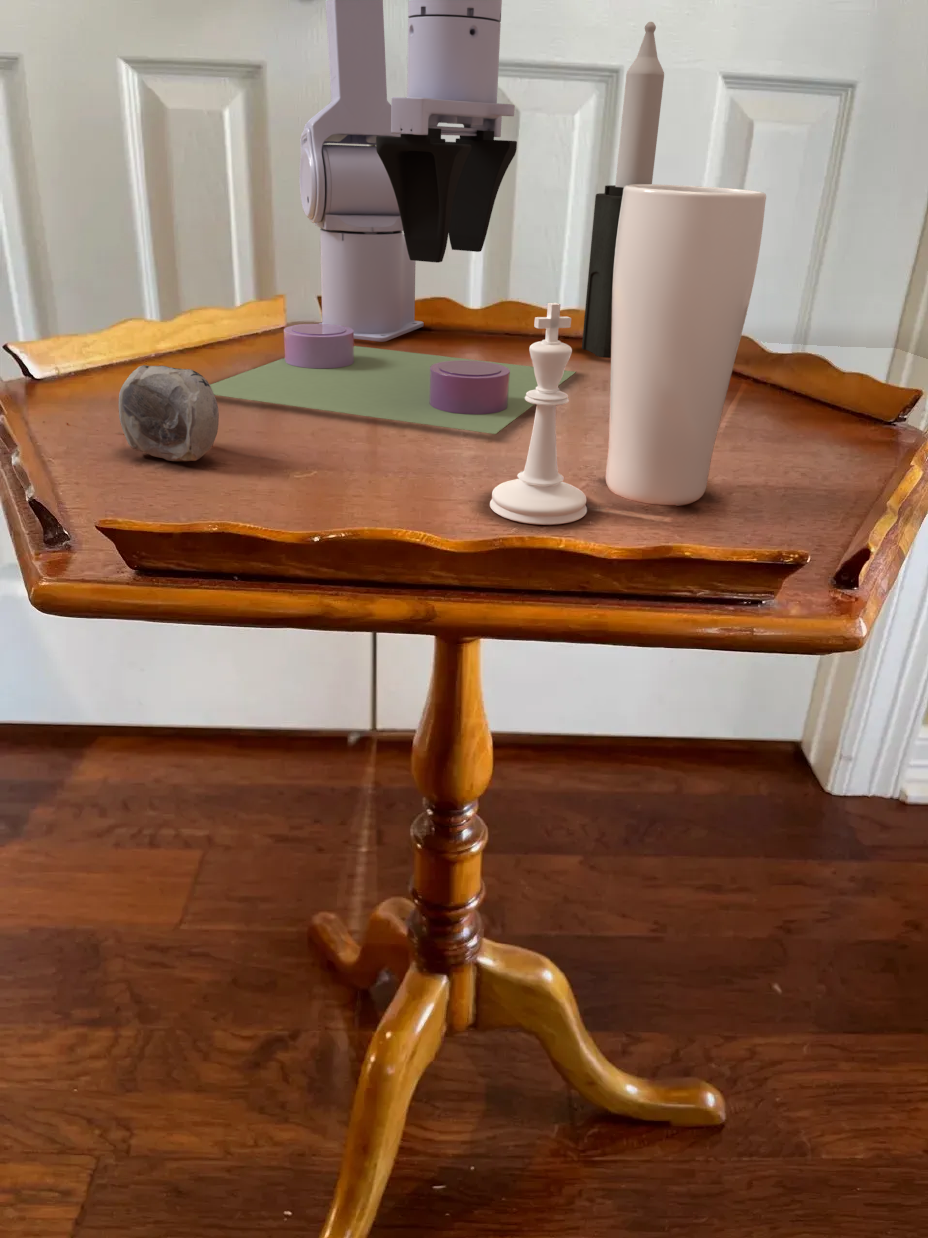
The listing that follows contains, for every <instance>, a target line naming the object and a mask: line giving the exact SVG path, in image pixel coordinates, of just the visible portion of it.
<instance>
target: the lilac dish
mask: <svg viewBox="0 0 928 1238" xmlns="http://www.w3.org/2000/svg"><path fill="white" fill-rule="evenodd" d="M354 346H355V339H354V330H353V329H351V328H348V327H345V326H340V325H331V324H319V323H303V324H301V323H300V324H293V325H289V326H286V327H284V329H283V347H284V348H283V349H284V350H283V351H284V352H283V353H284V358H285V362H286V363H287V364H290V365H293V366H297V367H303V368H315V369H328V368H340V367H345V366H349V365H351V364H353V363H354Z"/></svg>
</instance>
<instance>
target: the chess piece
mask: <svg viewBox="0 0 928 1238" xmlns="http://www.w3.org/2000/svg"><path fill="white" fill-rule="evenodd" d="M533 325H534V326H533V327H534V328H536V329H537V330H538V329H539V330H540V329H545V336H544V338H545V339H542V340H540V341H535V342H533V343H532V344H531V345H529V349H528V351H529V356H530V360H531V363H532V367H534V373H535V377H536V381H537V384H538V386H537V387H536V389H535V390H530V391H528V392H527V393H526V396H525V400H526V401H527V402H529V403H532V404H534V405H536V406H535V413H534V419H533V426H532V430H531V437H530V441H529V445H528V451H527V454H526V455H527V456H526V461H525V464H524V468H523V470H521V471H520V472H518V473H517V475H516V477H517V478H515V479H510V480H506V481H504V482H502V483H500V484H498V485H496V486H495V487H494V488H493V489H492V492H491V499H490V501H489V507H490V509H491V511H493V512H494V513H495V514H496V515H498V516H500V517H502V518H504V519H507V520H510V521H513V522H518V523H522V524H529V525H539V526H540V525H541V526H542V525H543V526H552V525H553V526H555V525H562V524H569V523H573V522H576V521H579V520H581V519H582V518H584V516H586V515H587V513H588V507H587V505H586V504H587V496H586V494H585V493H584V491H582V490H581V489H580V488H578V487H576V486H574V485H572V484H570V483H568V482H565V481H564V480H565V478H564V477H565V476H563V475H562V473H560V472H559V467H558V451H557V414H556V413H557V410H556V409H557V407H559V406H564V405H566V404H568V403H569V401H570V399H569V398H568V397H569V395H568V394H567V392H564V391H561V390H560V388H559V386H560V385H559V383H560V381H561V378H562V376H563V373H564V370H565V369H566V367H567V365H568V363H569V361H570V359H571V356H572V353H573V348H572V347H571V346H570V345H569V344H568V343H564V342H562V341H561V340H560V339H559V329H568V328H569V329H570V328H571V327H572V317H569V316H561V304H560V303H558V302H548V303H547V310H546V316H537V317H536V316H535V317H534V324H533ZM558 339H559V340H558ZM565 371H566V370H565ZM558 385H559V386H558Z"/></svg>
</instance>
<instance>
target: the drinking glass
mask: <svg viewBox="0 0 928 1238" xmlns="http://www.w3.org/2000/svg"><path fill="white" fill-rule="evenodd" d="M766 201H767V194H766V193H765V192H763V191H759V190H750V189H743V188H741V189H740V188H731V187H729V188H728V187H715V186H702V185H701V186H700V185H684V184H683V185H681V184H654V183H652V184H632V185H626V186H625V187H624V189H623V196H622V202H621V209H620V215H619V222H618V230H617V238H616V247H615V257H614V270H613V287H612V327H611V358H610V377H609V379H610V381H609V382H610V385H609V413H608V419H609V420H608V444H607V445H608V446H607V455H606V456H607V457H606V467H605V477H604V478H605V483H606V486H607V488H608V489H609V491H611V493H612V494H614V495H616V496H618V497H621V498H623V499H625V500H630V501H633V502H637V503H641V504H642V503H643V504H648V505H656V506H658V505H659V506H676V507H680V506H686V505H689V504H692V503H695V502H697V501H699V500H700V499H701V498H702V497H703V496H704V494H705V492H706V491H707V487H708V482H709V477H710V469H711V464H712V463H711V462H712V457H713V452H714V448H715V444H716V441H717V437H718V436H717V435H718V432H719V427H720V423H721V419H722V415H723V411H724V406H725V403H726V399H727V395H728V392H729V391H728V390H729V386H730V383H731V379H732V376H733V370H734V366H735V362H736V358H737V355H738V350H739V346H740V342H741V340H742V339H741V338H742V335H743V331H744V326H745V323H746V318H747V315H748V311H749V310H748V309H749V305H750V302H751V297H752V293H753V289H754V285H755V278H756V274H757V268H758V263H759V256H760V249H761V244H762V243H761V242H762V236H763V227H764V219H765V211H766V203H767V202H766Z"/></svg>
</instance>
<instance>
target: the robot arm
mask: <svg viewBox="0 0 928 1238" xmlns="http://www.w3.org/2000/svg"><path fill="white" fill-rule="evenodd" d="M407 4H408V5H407V17H408V18H407V66H406V69H407V70H406V71H407V73H406V79H407V80H406V86H407V87H406V96H391V98H390V100H391V102H389V101H388V91H387V89H388V88H387V68H386V67H387V66H386V65H387V64H386V63H387V62H386V43H385V41H386V39H385V20H384V0H325V16H326V18H325V19H326V34H327V52H328V54H327V55H328V69H329V89H330V101H329V103H328V104H326V105H325V106H324V107H323V108H322V109H320V110H319V111H318V112H317V113H315V114H314V115H313V116H312V117H311V118H310V119H308V121H306V123H305V125H304V127H303V129H302V132H301V134H300V138H299V139H300V141H299V142H300V157H299V158H300V159H299V168H298V169H299V170H298V171H299V172H298V175H299V176H298V177H299V179H298V180H299V193H300V194H299V195H300V202H301V207H302V211H303V213H304V215H305V216H306V217H307V218H308V220H309V221H310V223H312V224H314V225H315V226H316V227H317V228H319V243H320V244H319V245H320V246H319V247H320V248H319V249H320V284H321V286H320V287H321V288H320V290H321V322H319V323H318V324H331V325H340V326H345V327H348V328H351V329H353V330H354V340H362V341H370V342H371V341H372V342H379V343H381V342H383V343H384V342H385V343H386V342H388V341H390V340H393V339H395V338H397V337H401V336H403V335H405V334H407V333H410V332H413V331H415V330H418V329H420V328H423V327H424V326H425V325H424V322H423V321H421V320H416V319H415V314H416V264H417V263H416V262H424V263H425V262H426V263H442V262H443V261H444V258H445V254H446V250H447V246H448V241H449V244H450V247H451V251H461V252H462V251H463V252H474V253H479V252H482V250H483V247H484V244H485V240H486V237H487V233H488V230H489V226H490V222H491V218H492V213H493V209H494V206H495V201H496V198H497V195H498V192H499V189H500V186H501V184H502V182H503V179H504V176H505V175H506V172H507V170H508V168H509V167H510V164H511V163H512V161H513V159H514V158H515V156H516V153H517V149H518V147H517V146H518V141H516V140H504V139H495V138H501V137H502V119H503V118H502V117H515V111H516V109H515V108H516V105H515V104H512V103H498V88H499V70H500V69H499V68H500V67H499V66H500V48H501V47H500V46H501V45H500V44H501V27H502V26H501V25H502V24H501V22H502V7H503V6H502V4H503V0H407ZM439 124H451V125H463V126H462V127H461V126H441V125H439ZM442 136H459V138H458V137H457V138H455V141H446V139H445V138H442ZM448 239H449V240H448Z"/></svg>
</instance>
